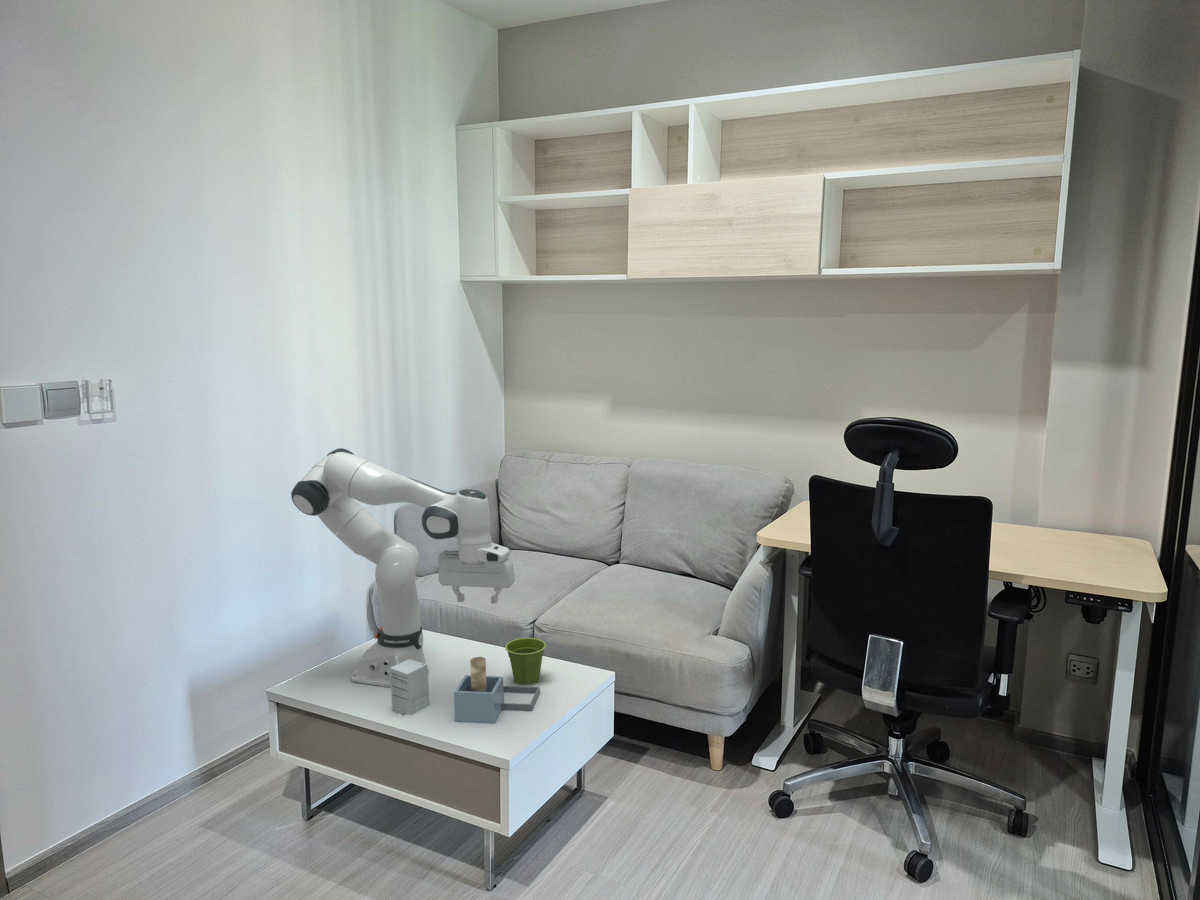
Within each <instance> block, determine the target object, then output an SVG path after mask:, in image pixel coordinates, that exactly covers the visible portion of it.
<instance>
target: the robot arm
mask: <svg viewBox="0 0 1200 900" xmlns="http://www.w3.org/2000/svg"><path fill="white" fill-rule="evenodd" d="M290 497H291V500H292V503H293V505H294V506H295V507H296V508H297V509H298V510H299V511H300V512H301V513H303V514H305V515H308V516H312V517H315V516H318V518H319V519H320V521H321V522H322V523H323V524H324V526H326V528H327V529H328V530H329V531H330V532H331V533H332V534H333V535H334V536H335V537H337V539H338V540H339V541H341V542H342V543H343V544H344V545H345V546H346V547H347V548H349V550H351V551H352V552H353V553H354V554H355V555H358V556H360V557H362V558H364V559H366V560H368V561H370V562H372V563H373V564H374V565H376V566H375V569H374V573H375V574H374V575H375V576H374V577H375V583H376V586H377V587H376V588H377V592H378V593H377V595H378V598H379V602H380V609H381V611H380V612H381V623H382V624H381V625H382V626H380V627H379V630H378V631H377V632H376V634H375V635H374V637H375V638H374V640H375V641H376V640H377V641H376V642H375V643H374V644H372V645H371V646H370V647H369V648H367V649H366V650H365V651H364V652H363V653H362V654H361V656H360V658H359V662H358V666H357V667H355V669H354V670H353V671H352V673H351V675H350V681H351V682H353V683H358V684H367V685H372V686H379V687H380V686H381V687H387V688H391V681H390V668H391V667H393V666H395V665H397V664H400V663H402V662H404V661H406V660H408V659H411V660H414V661H417V662H421V663H424V664H427V663H426V659H425V654H424V649H423V646H424V635H423V627H422V625H421V612H420V600H419V596H418V591H417V586H416V577H417V575H416V574H417V570H418V568H419V566H420V562H421V561H420V560H421V559H420V555H419V554H420V553H419V551H418V548H417V547H416V546H415V545H414V544H412V543H410V542H408V541H406V540H404V539H403V538H401V537H400V536H399V535H397V534H395V533H394V532H392V531H391V530H390V529H388V528H387V527H385V526H384V525H383V524H381V522H379V521H378V520H377V519H376V518H375V517H374V516H373V515H371V514H370V513H369V512H368V511H367V510H366V509H365V508H364V507H363V506H362V505H361V504H360V503H362V504H365V505H370V506H373V507H374V506H379V507H380V506H384V505H390V504H398V503H403V504H405V503H406V504H407V503H408V504H413V505H416V506H417V507H420V508H423V509H424V511H423V512H422V514H421V515H422V516H421V527H422V529H423V531H424V532H425V533H426V535H427V536H428V537H430V538H432V539H433V540H446V539H451V538H456V541H457V550H449V549H448V550H446V549H445V550H443V551H440V553H439V554H438V557H437V559H438V561H437V562H438V565H439V570H438V582H439V584H440V585H441V586H449V587H451V589H452V591H453V593H454V595H455V596H456V602H459V603H463V602H464V601H465V593H462V591H461V590H460V589H459V588H460V587H469V588H488V589H489V588H491V589H492V588H493V589H494V590H493V591H494V592H495V593H494V594H493V595H492V596H491V597H490V604H495V605H497V604H498V603H499V595H500V593H501V591H502V590H503V589H509V588H511V587H512V586H513V585H514V584H515V581H516V579H515V568H514V564H513V561H512V559H511V558H510V557H509V556H510V555H511V550H510V548H508V547H505V546H503V545H500V544H497V543H495V542H493V540H492V536H491V532H490V531H491V530H490V529H491V524H492V523H491V522H492V521H491V509H490V504H489V500H488V499H489V498H488V497H487V495H486V494H485V493H484V492H483V491H480V490H477V489H472V488H471V489H461V490H459V491H458V492H450V491H449V492H448V491H445V490H443V489H439V488H437V487H434V486H432V485H430V484H428V483H425V482H422V481H419V480H416V479H414V478H412V477H408V476H407V475H403V474H400V473H397V472H395V471H393V470H390V469H388V468H386V467H384V466H382V465H379V464H377V463H375V462H374V461H373V462H372V461H371V460H369V459H366V458H364V457H361V456H359V455H356V454H354V453H353V452H352V451H351V450H349V449H346V448H343V447H342V448H341V447H340V448H337V449H334V450H332V451H330V452H329V453H328V454H327V455H326V456H325V457H324V458H322V459H321V460H319V461H317V463H315V464H314V465H313V466H312V467H311V469H310V470H309V471H308V472H307V473H306V474H305V475H304V476H303V477H302V479H301V480H300V481H298V482H297V483H296V484H295V485H294V487H293V488H292V490H291V492H290ZM358 502H360V503H358ZM427 670H428V671H429V668H428V667H427Z"/></svg>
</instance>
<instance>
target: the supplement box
mask: <svg viewBox="0 0 1200 900" xmlns="http://www.w3.org/2000/svg"><path fill="white" fill-rule="evenodd" d="M427 668H428V664H427V663H426V664H424V663H421V662H417V661H414V660H411V659H408V660H406V661H404V662H402V663H400V664H397V665H395V666H393V667H391V668H390V681H391V687H390V693H391V694H390V695H391V696H390V697H391V707H392V709H391V710H392V712H394V713H396V714H400V715H402V716H406V715H409V716H412V715H413V714H416V713H418V712H420V711H421V710H423V709H426V708H427V707H429V706H430V693H429V692H430V690H429V689H430V688H429V675H428V674H429V669H428V670H427Z"/></svg>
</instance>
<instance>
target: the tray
mask: <svg viewBox="0 0 1200 900" xmlns="http://www.w3.org/2000/svg"><path fill="white" fill-rule="evenodd" d="M505 693H507V694H508V693H511V694H529V695H530V694H531V695H532V694H533V697H532V699H531V700H530V703H512V702H511V703H510V702H504V703H502V710H501V711H514V712H515V711H519V712H533V709H534V708H535V705H536V704H537V701H538V698H539V696H540V694H541V687H540V686H526V685H524V686H523V685H521V686H520V685H519V686H518V685H504V694H505Z"/></svg>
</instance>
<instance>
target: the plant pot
mask: <svg viewBox="0 0 1200 900" xmlns="http://www.w3.org/2000/svg"><path fill="white" fill-rule="evenodd" d="M504 646H505V647H504V648H505V650H506V651H507V655H508V658H509V661H510V662H509V663H510V666H511V670H512V676H513V680H514V683H516V684H518V685H521V686H523V685H524V686H526V685H527V686H528V685H534V684H537V683H539V681H540V678H541V677H540V676H541V668H542V661H543V656H544V652H545V649H546V648H547V643H546V641H544V640H542V639H539V638H534V637H520V638H515V639H513V640H510V641H508V642H507V643H506V644H505V645H504Z"/></svg>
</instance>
